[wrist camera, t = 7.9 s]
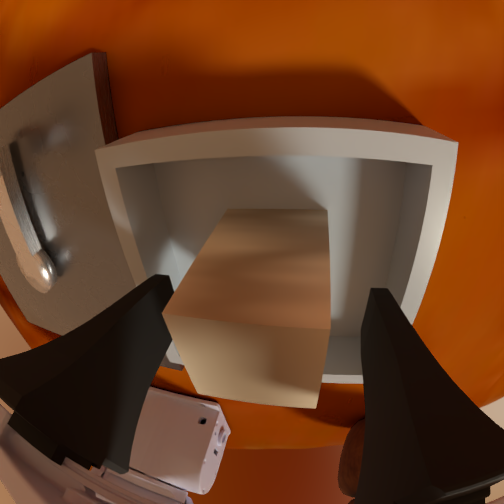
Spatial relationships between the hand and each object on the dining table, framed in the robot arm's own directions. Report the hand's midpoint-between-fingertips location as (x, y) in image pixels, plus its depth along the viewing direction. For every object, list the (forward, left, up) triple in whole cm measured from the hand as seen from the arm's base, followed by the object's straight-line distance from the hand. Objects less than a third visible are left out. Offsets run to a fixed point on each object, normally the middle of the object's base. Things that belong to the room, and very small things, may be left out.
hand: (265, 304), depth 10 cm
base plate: (+17, 0, -3) cm, 17 cm away
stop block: (0, 0, -3) cm, 3 cm away
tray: (0, 0, -3) cm, 3 cm away
